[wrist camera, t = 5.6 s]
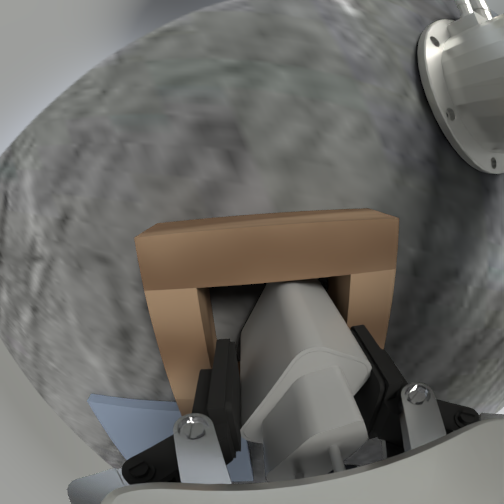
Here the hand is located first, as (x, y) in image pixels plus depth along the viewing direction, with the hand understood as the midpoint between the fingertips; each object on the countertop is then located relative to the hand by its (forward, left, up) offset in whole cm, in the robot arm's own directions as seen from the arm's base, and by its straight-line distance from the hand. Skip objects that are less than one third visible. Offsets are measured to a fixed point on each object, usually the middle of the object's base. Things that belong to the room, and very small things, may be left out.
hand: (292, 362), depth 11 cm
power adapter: (0, 0, -5) cm, 5 cm away
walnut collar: (0, 0, -5) cm, 5 cm away
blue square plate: (+14, -9, -5) cm, 18 cm away
